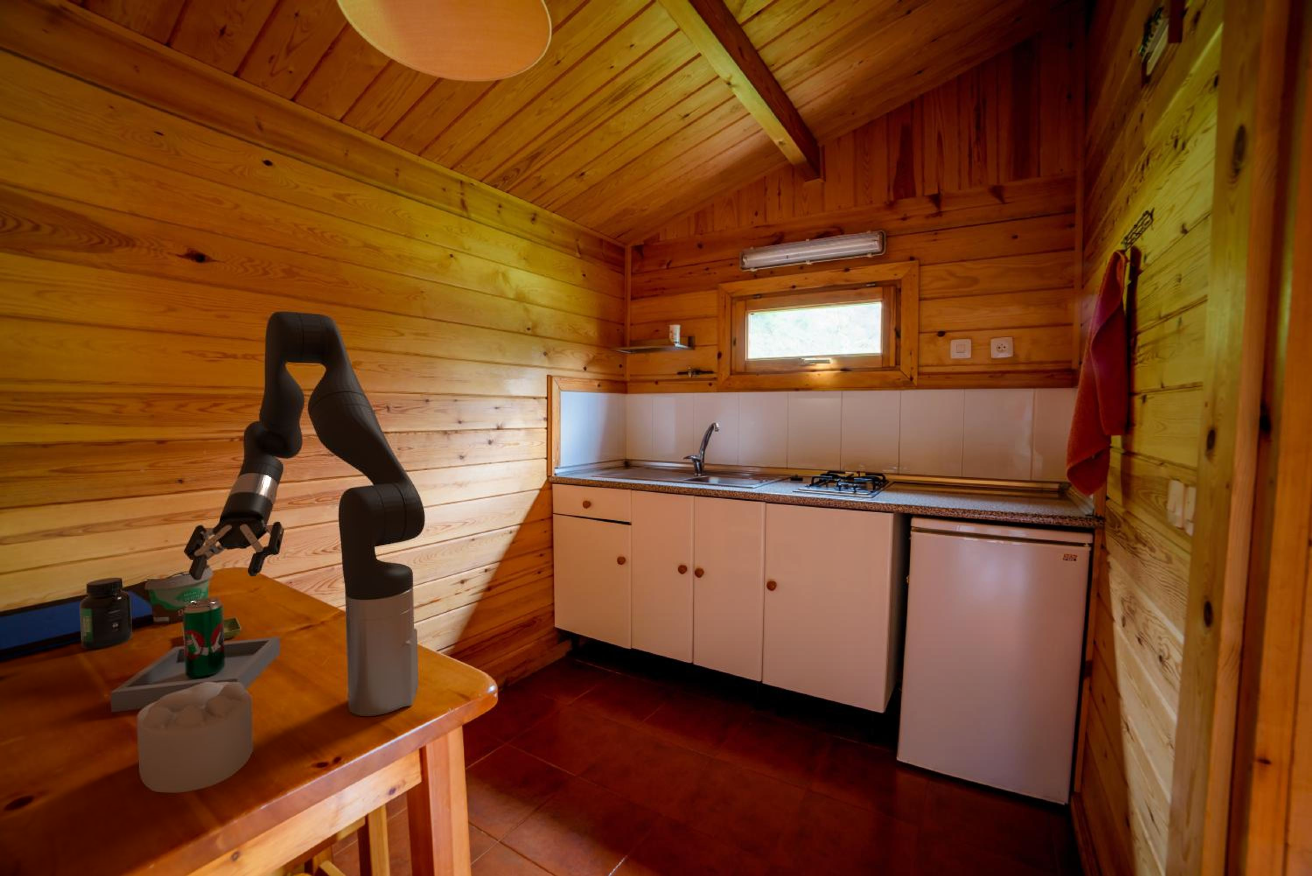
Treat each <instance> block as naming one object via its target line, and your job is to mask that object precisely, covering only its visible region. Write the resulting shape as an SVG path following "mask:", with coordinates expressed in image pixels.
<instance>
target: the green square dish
mask: <svg viewBox="0 0 1312 876" xmlns="http://www.w3.org/2000/svg"><path fill="white" fill-rule="evenodd" d="M223 626H224V640H228V639H232V638H236V637H237V635H239V634H240V632H241V631H242V629H243V628H242V626H241V624H240V622H239V620H238V617H236V616H235V617H229V618H225V619H224V618H223ZM181 633H182V640H183V642H184V630H183V627H182V628H181Z"/></svg>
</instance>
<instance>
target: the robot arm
mask: <svg viewBox="0 0 1312 876" xmlns="http://www.w3.org/2000/svg"><path fill="white" fill-rule="evenodd" d="M287 363H290V364H319V365H322V367H324V368H325V371H324V374H323V375H322V377H321V378H320V380H319V381H318V383H317V384H316V386H315V387H314V388H313V390H312V392H311V394H310V396H309V399H308V402H307V413H308V416H309V419H310V422H311V425H312V427H313V428H314V429H313V430H314V432H315V434H316V436H317V438H318V440H319V442H320V443H321V444H322V445H323V446H324V448H326V449H327V450H328V452H330V453H332V454H333V455H335V456H336V457H338V458H339V459H340V460H342V461H343V462H345V463H346V464H348V465H350V466H351V467H353V468H354V469H356V470H357V471H359V472H360V473H362V474H363V475H364V476H365V477H366V478H367V479H368V480H369V481H370V482H371V483H372V485H363V486H354V487H349V488H348V489H345V491H344V492H342V495H341V497H340V500H339V503H338V514H337V515H338V529H339V538H340V549H341V551H340V552H341V562H342V563H341V565H342V566H341V567H342V568H341V569H342V574H343V581H344V593H345V598H344V599H345V600H344V601H345V628H346V629H345V634H346V635H345V636H346V637H345V638H346V639H345V640H346V665H347V666H346V667H347V668H346V669H347V671H346V672H347V701H348V711H349V712H351V714H353V715H356V716H362V717H373V716H379V715H380V716H381V715H384V714H385V715H386V714H388V713H391V712H394V711H397V710H399V709H402V708H404V707H411V706H412V705H413V703H414V701H415V697H416V694H417V692H418V689H419V662H418V661H419V660H418V658H419V655H418V652H419V651H418V650H419V649H418V630H417V628H415V610H414V607H415V606H414V601H415V600H414V572H413V570H412V568H411V567H410V566H409V565H406V564H403V563H397V562H389V561H382V560H380V559H378V558H377V554H376V547H382V546H389V545H392V544H397V543H402V542H406V541H407V542H408V541H410V540H413V539H416V538H417V537H419V536H420V535H421V534H422V532H423V530H424V528H425V523H426V515H425V513H426V512H425V509H424V508H425V507H424V505H423V502H422V499H421V496H420V493H419V492H418V489H417V488H416V486H415V485H414V483H413V481H412V479H411V478H410V477H409V475H408V472H407V471H406V470H405V468H404V467H403V466H402V464H401V463H400V461H399V459H398V458H397V456H396V455H395V452H394V451H393V449H392V448H391V446H390V444H389V442H388V440H387V438H386V436H385V434H384V431H383V430H382V427H381V425H380V423H379V421H378V417H377V416H376V414H375V411H374V408H373V407H372V405H371V402H370V401H369V399H368V397H367V395H366V393H365V391H364V389H363V387H362V386H361V384H360V382H359V380H358V377H357V374H356V372H355V371H354V368H353V366H352V363H351V360H350V357H349V355H348V350H347V348H346V345H345V342H344V340H343V336H342V333H341V332H340V329H339V327H338V325H337V323H336V322H335V320H334V319H333V318H332V317H330V316H328V315H326V314H320V313H312V312H311V313H310V312H298V311H287V310H286V311H285V310H283V311H274V313H272V314H271V315H270V317H269V319H268V321H267V325H266V330H265V341H264V391H263V397H262V401H261V405H260V409H259V413H258V419H259V420H255V421H252V422H251V423H249V424H248V425H247V426H246V428H245V429H244V433H243V436H242V437H243V439H242V440H243V461H242V465H241V468H240V471H239V472H238V475H237V478H236V480H235V482H234V484H233V485H232V486H231V489H230V491H229V493H228V496H227V497H226V501H225V503H224V506H223V508H222V510H221V514H220V516H219V522H218V523H217V524H216V525H215V526H214V527H204V525H203V524H198V525H196V526H195V528H194V530H193V532H192V534H191V536H190V538H189V540H188V542H187V544H186V545H185V548H184V550H183V553H184V554H185V556H187V558H188V559H189V560H190V561H192V563H191V564H190V567H189V571H188V572H189V574H190V575H191V577H192V578H193V579H194V580H200V579H201V578H202V575H203V572H204V570H205V567H206V565H208V561H209V559H212V557H214V556H215V555H216V556H217V555H219V554H221V553H223V551H225V550H228V551H229V550H231V551H232V550H234V549H235V550H236V549H239V550H240V549H241V550H245V549H247V548H249V547H252V548H253V550H254V551H255V552H253V554H252V556H251V559H250V562H249V565H248V568H247V574H248V575H249V576H250V577H256V576H257V575H258V574H260V573H261V571H262V570H263V565H264V563H265V560H266V558H268V557H269V556H272V555H273V556H277V555H279V554H280V552H281V547H282V546H281V545H282V541H283V537H284V533H285V529H284V527H283V524H282V523H281V522H280V521H275V522H273V523H272V524H269V520H270V518H271V517H270V516H271V513H272V511H273V507H274V505H275V504H276V501H277V500H276V499H277V495H278V488H279V486H280V483H281V482H280V481H281V479H282V476H283V473H284V468H285V467H284V464H283V462H282V461H281V460H280V459H284V460H287V459H291V458H292V459H293V458H294V457H296V456H297V455H298V454H299V453H300V452H301V450H302V446H303V432H302V429H301V425H300V423H301V422H300V420H301V417H302V413H303V410H304V407H305V400H306V399H305V394H304V391H303V389H302V387H301V386H300V384H299V383H298V382H297V381H296V379H295V378H294V377H293V375H291V373H290V372H289V370H288V369H287ZM278 458H279V459H278ZM267 533H268V534H269V539H268V544H267V545H265V546H262V545H263V544H261V542H260V541H259V540H260V539H261V538H262V537H264V536H265V535H266V534H267ZM218 543H219V544H218ZM217 544H218V545H217ZM417 688H418V689H417Z"/></svg>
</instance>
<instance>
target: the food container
mask: <svg viewBox="0 0 1312 876" xmlns="http://www.w3.org/2000/svg"><path fill="white" fill-rule="evenodd" d="M212 570H213V569H212V567H210V564H207V565H206V567H205V570H204V572H203V575H202V578H201V579H200V580H194V579H193V578H192V577H191V575H190V574H189V571H184V572H178V573H174V574H172V575H169V576H167V577H164V578H163V577H162V578H146V582H145V584H144V585H145V586H144V590H145V591H146V590H147V591H148V595H149V601H150V607H151V613H152V617H153V624H154V625H155V626H161V625H162V626H164V625H175V624H179V623H183V611H184V609H185V608H186V606H185V605H186V604H187V603H189V602H191V601H194V600H198V599H203V598H209V586H210V579H212V577H213V576H214V573H213V572H214V571H212Z"/></svg>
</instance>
